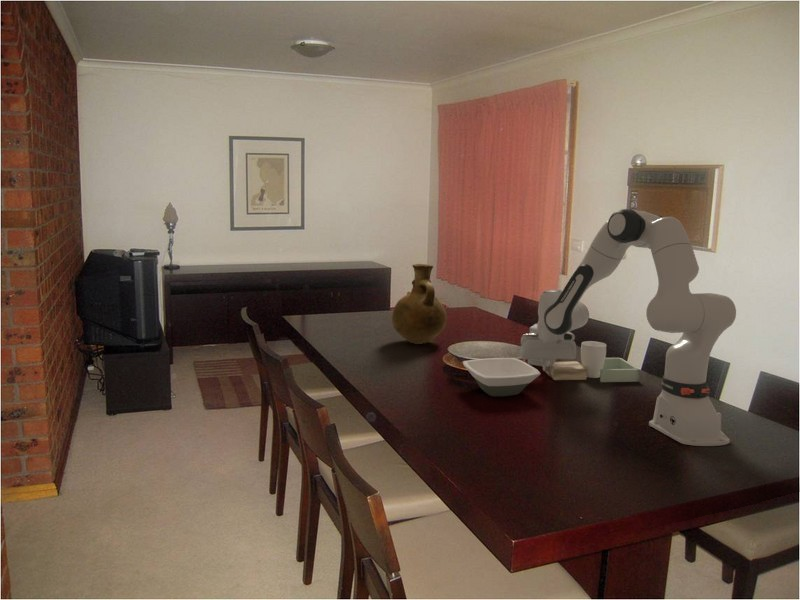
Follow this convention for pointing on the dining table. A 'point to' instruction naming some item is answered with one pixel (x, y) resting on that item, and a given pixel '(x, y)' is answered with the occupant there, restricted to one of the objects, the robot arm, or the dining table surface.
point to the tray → (618, 371)
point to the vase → (420, 309)
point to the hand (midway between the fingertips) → (546, 370)
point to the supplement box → (535, 361)
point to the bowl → (501, 375)
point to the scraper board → (567, 371)
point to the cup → (593, 357)
